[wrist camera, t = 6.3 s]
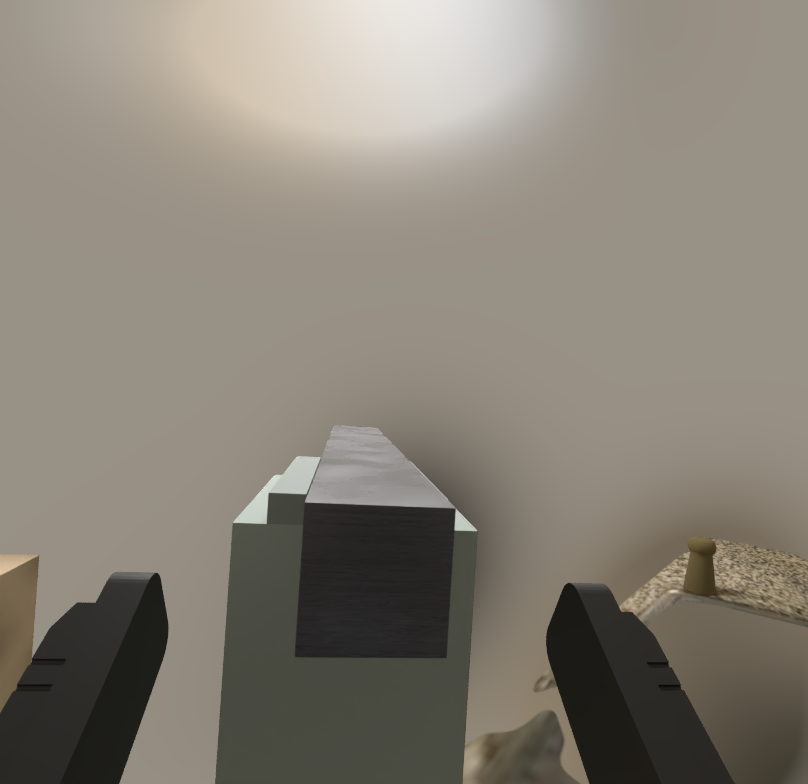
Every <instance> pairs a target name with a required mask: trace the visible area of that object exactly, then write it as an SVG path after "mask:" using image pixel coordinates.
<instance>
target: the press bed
mask: <svg viewBox="0 0 808 784" xmlns="http://www.w3.org/2000/svg"><path fill="white" fill-rule="evenodd" d="M38 562H39V555H9V554H0V712H1V711H2V709H3V707H4V706H5V704H6V702H7V700H8V699H9V697H10V695H11V694H12V692H13V691H15V690H16V688H17V683H18V682H19V680H20V678H21V677H22V675H23V673H24V671H25V670H26V668H27V666H28V665H30V664H31V660H32V646H33V633H34V619H35V604H36V592H37V578H38Z"/></svg>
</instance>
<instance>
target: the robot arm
mask: <svg viewBox="0 0 808 784" xmlns="http://www.w3.org/2000/svg"><path fill="white" fill-rule="evenodd" d="M167 639H168V619H167V613H166V607H165V602H164V596H163V590H162V584H161V579H160V576H159V574H158V573H139V572H138V573H137V572H115V573H113V574H112V575H111V576H110V578H109V579H108V581H107V582H106V584H105V586H104V588H103V590H102V592H101V594H100V596H99V598H98V599H97V601H96V603H76V604H75V605H74V606H73V607H72V608H71V609H70V610H69V611H68V612H67V613H65V614H64V615H63V616H62V617H61V618H60V619H59V620H58V621H57V622H56V623H55V624H54V625H53V626H52V627H51V628H50V629H49V630H48V632H47V634H46V636H45V637H44V639H43V641H42V642H41V644H40V646H39V647H38V649H37V651H36V653H35V654H34V656H33V658H32V663H31V664H30V665H28V666H27V668H26V670H25V671H24V673H23V675H22V677H21V678H20V680H19V682H18V683H17V688H16V690H15V691H13V692H12V694H11V695H10V697H9V699H8V700H7V702H6V704H5V706H4V707H3V709H2V711H1V712H0V784H119V783H120V780H121V777H122V774H123V771H124V768H125V765H126V763H127V760H128V757H129V754H130V751H131V748H132V746H133V743H134V740H135V737H136V734H137V731H138V729H139V726H140V723H141V720H142V717H143V714H144V711H145V709H146V706H147V703H148V700H149V697H150V695H151V692H152V689H153V686H154V683H155V680H156V677H157V675H158V672H159V669H160V666H161V663H162V661H163V657H164V654H165V650H166V645H167ZM546 646H547V654H548V659H549V662H550V665H551V669H552V672H553V675H554V678H555V681H556V684H557V687H558V690H559V693H560V696H561V698H562V702H563V705H564V708H565V711H566V714H567V717H568V720H569V723H570V726H571V729H572V732H573V735H574V738H575V741H576V744H577V747H578V750H579V753H580V756H581V759H582V762H583V766H584V769H585V771H586V775H587V778H588V780H589V783H590V784H735V783H734V781H733V780H732V778H731V777H730V775H729V773H728V771H727V769H726V767H725V765H724V764H723V762H722V760H721V758H720V756H719V754H718V752H717V751H716V749H715V747H714V745H713V743H712V742H711V740H710V738H709V736H708V734H707V732H706V730H705V728H704V727H703V725H702V723H701V721H700V719H699V717H698V715H697V714H696V712H695V710H694V708H693V706H692V704H691V703H690V701H689V699H688V697H687V695H686V693H685V691H684V690H681V686H680V685H681V684H680V682H679V680H678V678H677V677H676V675H675V673H674V671H673V669H672V668H670V667H669V665H668V663H669V662H668V660H667V658H666V656H665V654H664V653H663V651H662V649H661V647H660V645H659V643H658V641H657V640H656V638H655V636H654V635H653V633H652V632H651V631H650V630H649V629H648V628H647V627H646V626H645V625H644V624H643V623H642V622H641V621H640V620H639V619H638V618H637V617H636V616H635V615H634V614H633V612H621V610H620V608H619V606H618V604H617V602H616V600H615V599H614V596H613V594H612V593H611V591H610V589H609V588H608V587H607V586H606V585H604V584H592V583H568V584H566V585H565V586H564V588H563V590H562V593H561V595H560V598H559V601H558V603H557V606H556V608H555V611H554V614H553V616H552V619H551V621H550V624H549V626H548V630H547V636H546Z"/></svg>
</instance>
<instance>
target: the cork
mask: <svg viewBox="0 0 808 784" xmlns="http://www.w3.org/2000/svg"><path fill="white" fill-rule="evenodd" d="M688 548H689V550H690V557H689V562H688V566H687V571H686V576H685V581H684V586H683V588H684V589H686V590H688V591H690V592H693V593H696V594H701V595H707V596H712V595H715V594H716V588H715V577H714V566H713V555H714V554H715V552H716V545H715V543H714V541H712V540H711V539H708V538H704V537H692V538H690V539H689V541H688Z"/></svg>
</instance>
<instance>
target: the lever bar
mask: <svg viewBox="0 0 808 784" xmlns="http://www.w3.org/2000/svg"><path fill="white" fill-rule="evenodd" d="M455 514H456V508H455V507H454V506H453V505H452V504H451V503H450V502H449V501H448V500H447V499H446V498H445V497H444V496H443V495H442V494H441V493H440V492H439V491H438V490H437V489H436V488H435V487H434V486H433V485H432V484H431V483H430V482H429V481H428V480H427V478H426V477H425V476H424V475H423V474H422V473H421V472H420V471H419V470H418V469H417V468H416V467H415V466H414V465H413V464H412V463H411V462H410V461H409V460H408V459H407V458H406V457H405V456H404V455H403V454H402V453H401V452H400V451H399V450H398V449H397V448H396V447H395V446H394V445H393V444H392V443H391V442H390V441H389V440H388V439H387V438H386V437H385V436H384V435H383V434H382V433H381V432H380V431H379V430H378V429H377V428H375V427H358V426H340V425H334V426H333V430H332V432H331V434H330V437H329V440H328V442H327V445H326V448H325V450H324V453H323V456H322V458H321V461H320V463H319V466H318V469H317V471H316V474H315V477H314V479H313V482H312V484H311V487H310V490H309V492H308V495H307V498H306V500H305V505H304V521H303V536H302V551H301V566H300V582H299V597H298V612H297V627H296V642H295V657H315V658H447V644H448V627H449V611H450V595H451V579H452V562H453V546H454V530H455Z"/></svg>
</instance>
